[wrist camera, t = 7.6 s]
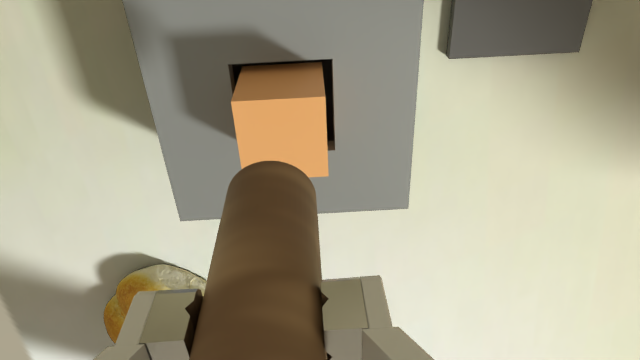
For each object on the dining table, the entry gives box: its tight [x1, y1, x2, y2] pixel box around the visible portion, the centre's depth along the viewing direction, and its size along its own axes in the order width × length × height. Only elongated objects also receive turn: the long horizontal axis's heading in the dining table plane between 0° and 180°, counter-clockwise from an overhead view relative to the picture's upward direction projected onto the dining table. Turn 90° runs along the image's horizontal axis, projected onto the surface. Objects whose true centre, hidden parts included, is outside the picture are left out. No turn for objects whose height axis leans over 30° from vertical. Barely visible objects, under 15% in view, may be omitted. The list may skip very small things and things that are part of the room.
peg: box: [189, 161, 327, 360], centre depth 11 cm, size 3×3×10 cm
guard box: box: [122, 0, 424, 221], centre depth 24 cm, size 12×12×7 cm
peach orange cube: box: [231, 62, 329, 177], centre depth 20 cm, size 4×4×4 cm
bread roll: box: [104, 264, 207, 343], centre depth 36 cm, size 8×9×4 cm
